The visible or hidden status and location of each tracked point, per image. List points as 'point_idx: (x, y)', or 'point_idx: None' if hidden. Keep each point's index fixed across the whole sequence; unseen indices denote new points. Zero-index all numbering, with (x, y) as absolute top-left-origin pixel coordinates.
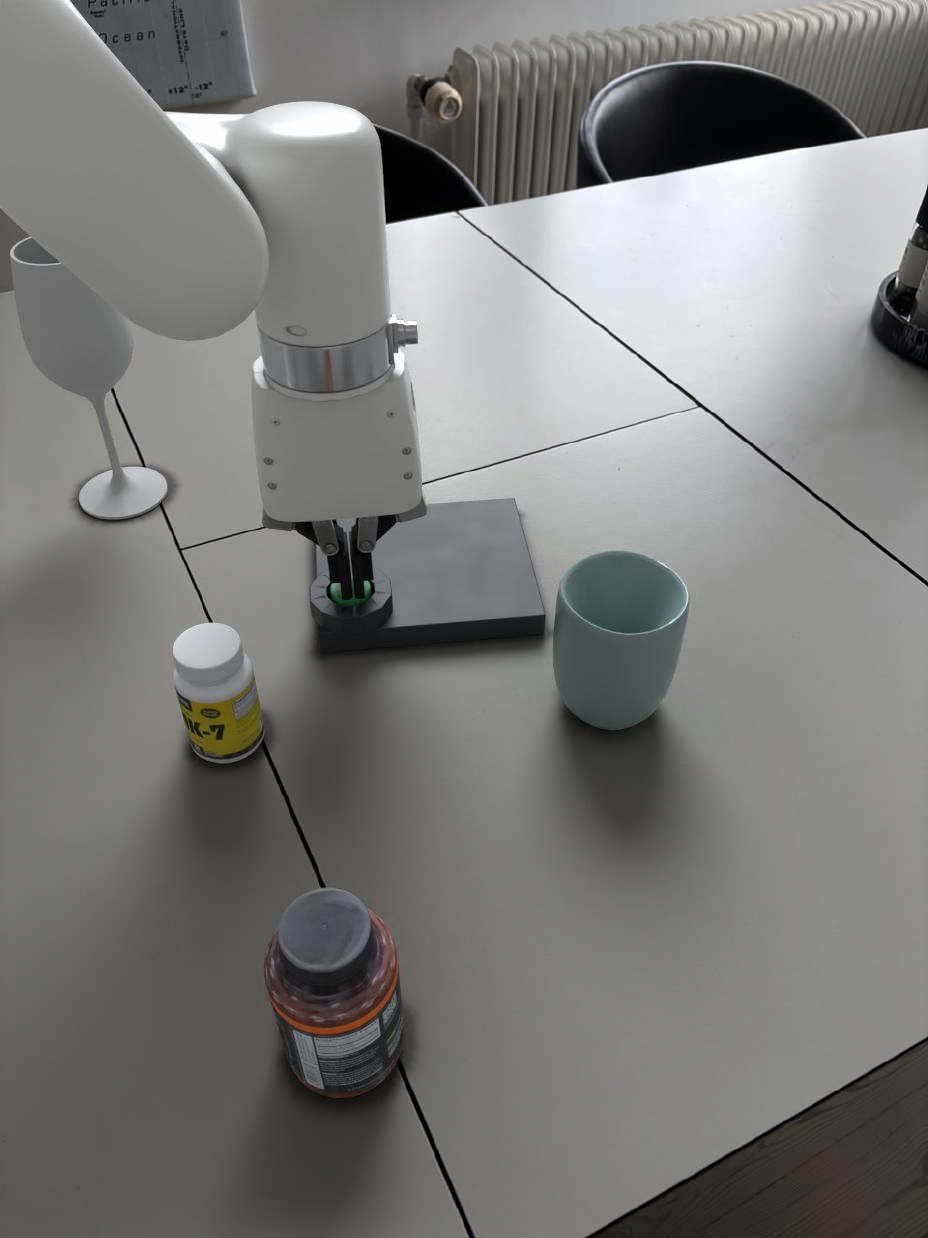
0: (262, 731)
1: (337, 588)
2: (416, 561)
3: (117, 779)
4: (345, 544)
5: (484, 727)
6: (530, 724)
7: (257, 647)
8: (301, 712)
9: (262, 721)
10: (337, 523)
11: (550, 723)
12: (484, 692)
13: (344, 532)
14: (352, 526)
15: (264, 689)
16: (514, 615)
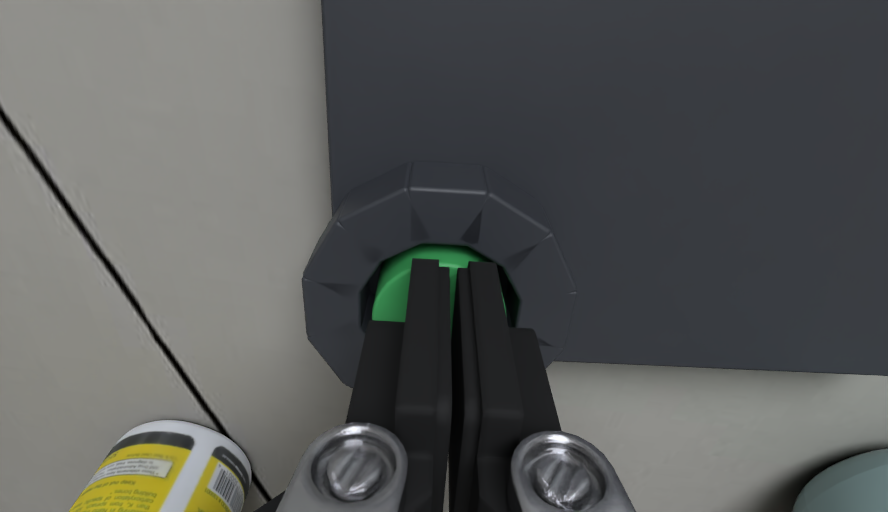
0: (246, 493)
1: (396, 320)
2: (699, 98)
3: (22, 500)
4: (436, 491)
5: (632, 496)
6: (709, 500)
7: (192, 268)
8: (316, 434)
9: (241, 500)
10: (403, 504)
11: (741, 503)
12: (665, 441)
13: (440, 428)
14: (487, 500)
15: (234, 379)
16: (851, 368)
